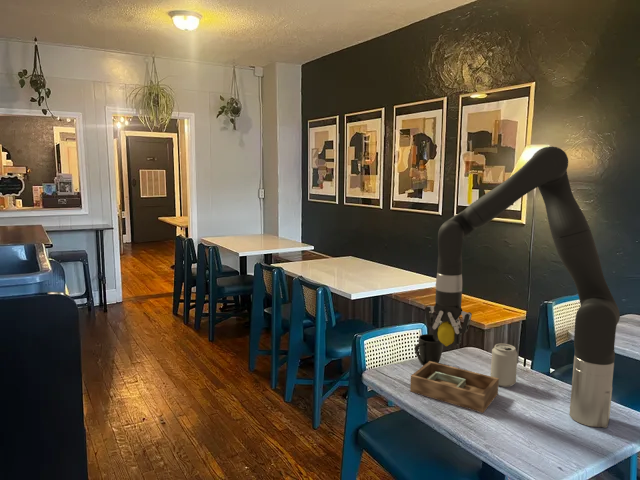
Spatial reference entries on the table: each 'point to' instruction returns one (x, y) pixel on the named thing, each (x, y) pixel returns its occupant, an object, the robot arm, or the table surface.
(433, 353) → the mug
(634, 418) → the table surface
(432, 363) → the caddy
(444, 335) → the lemon
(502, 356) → the can
